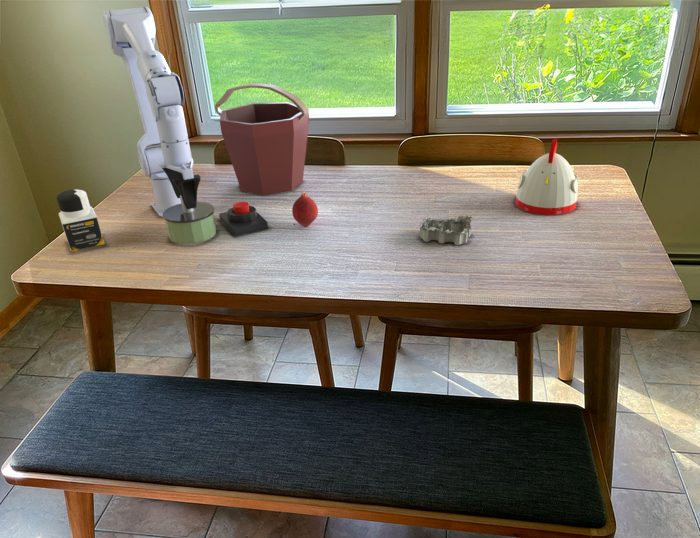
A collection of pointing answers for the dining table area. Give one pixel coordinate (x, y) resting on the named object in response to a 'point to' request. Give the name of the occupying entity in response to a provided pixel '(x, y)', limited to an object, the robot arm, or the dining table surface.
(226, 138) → the bucket
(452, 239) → the egg carton
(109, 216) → the dining table surface
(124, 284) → the dining table surface
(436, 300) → the dining table surface
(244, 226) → the button housing
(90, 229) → the medicine bottle
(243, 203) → the button
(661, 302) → the dining table surface
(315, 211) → the onion
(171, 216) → the lid
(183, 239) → the pot
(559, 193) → the kitchen timer
